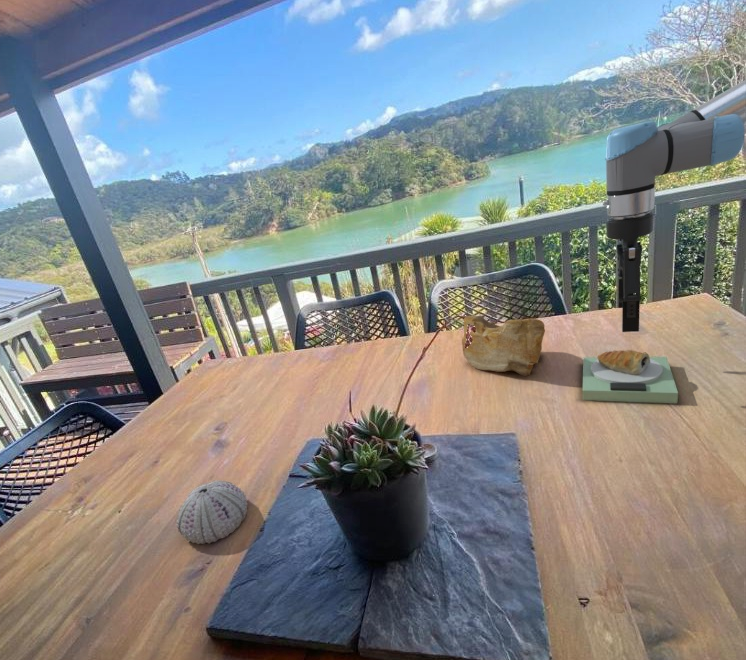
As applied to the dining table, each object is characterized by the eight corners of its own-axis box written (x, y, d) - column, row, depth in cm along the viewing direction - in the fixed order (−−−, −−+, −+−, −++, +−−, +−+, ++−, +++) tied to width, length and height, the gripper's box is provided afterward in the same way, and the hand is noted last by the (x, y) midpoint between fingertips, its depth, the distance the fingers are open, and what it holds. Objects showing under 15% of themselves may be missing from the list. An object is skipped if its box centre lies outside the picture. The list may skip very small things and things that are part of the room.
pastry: (591, 368, 97) (591, 352, 95) (605, 356, 100) (606, 341, 99) (639, 377, 89) (640, 360, 88) (653, 364, 93) (654, 347, 91)
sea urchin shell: (253, 491, 90) (241, 459, 87) (249, 539, 78) (235, 504, 75) (190, 508, 90) (176, 477, 87) (176, 560, 77) (159, 526, 74)
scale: (665, 368, 97) (666, 353, 95) (677, 406, 84) (678, 389, 83) (583, 368, 105) (583, 354, 103) (582, 402, 92) (582, 387, 91)
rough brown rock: (575, 365, 108) (575, 307, 103) (533, 388, 101) (531, 326, 96) (498, 349, 127) (496, 300, 123) (458, 367, 120) (453, 315, 115)
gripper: (604, 207, 94) (605, 299, 102) (608, 231, 75) (609, 343, 83) (646, 200, 90) (643, 296, 98) (662, 224, 71) (657, 342, 79)
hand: (627, 318), depth 91 cm, fingers open, 13 cm apart
